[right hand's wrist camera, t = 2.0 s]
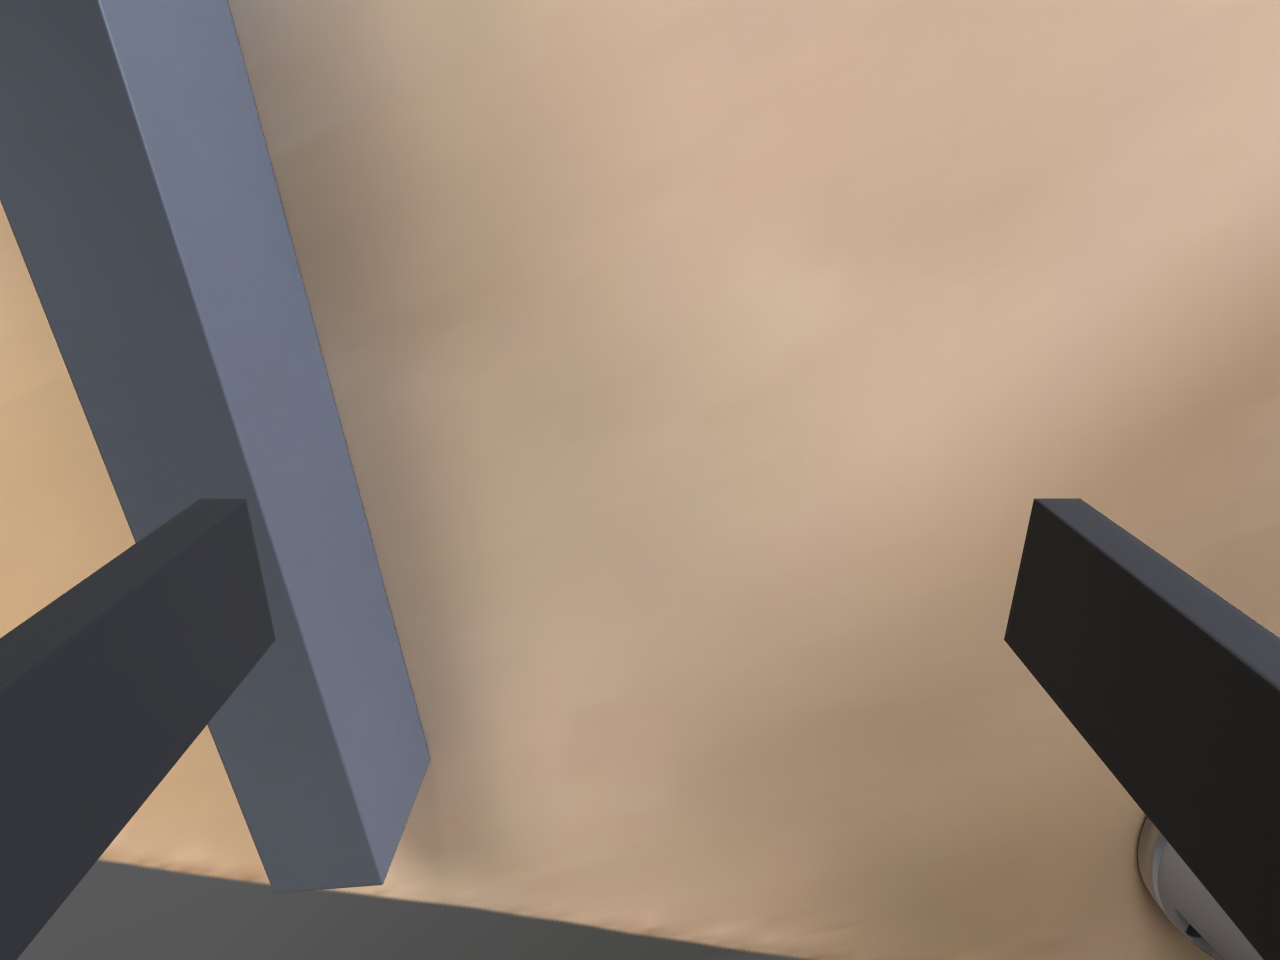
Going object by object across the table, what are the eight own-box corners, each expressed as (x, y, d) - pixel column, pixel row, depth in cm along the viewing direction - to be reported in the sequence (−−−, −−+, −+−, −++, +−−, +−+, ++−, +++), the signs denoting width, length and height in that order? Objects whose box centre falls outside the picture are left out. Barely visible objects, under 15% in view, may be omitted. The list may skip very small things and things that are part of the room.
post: (431, 759, 38) (383, 885, 31) (341, 767, 39) (273, 894, 32) (10, -815, 20) (-344, -1382, 13) (-161, -783, 20) (-605, -1324, 13)
